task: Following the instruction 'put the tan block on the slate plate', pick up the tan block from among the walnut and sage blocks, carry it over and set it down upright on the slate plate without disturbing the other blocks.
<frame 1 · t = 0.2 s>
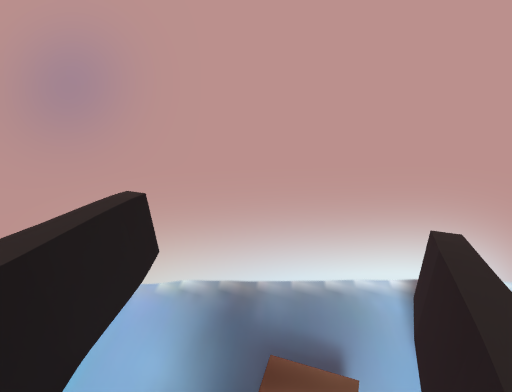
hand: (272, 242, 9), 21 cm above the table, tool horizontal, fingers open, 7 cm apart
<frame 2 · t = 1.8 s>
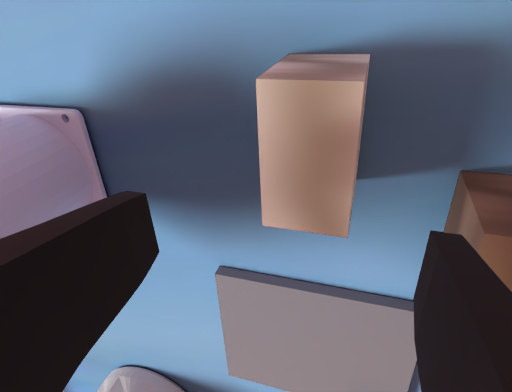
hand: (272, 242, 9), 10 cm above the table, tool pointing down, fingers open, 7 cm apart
tan block: (324, 120, 17), on the table
walnut block: (484, 228, 17), on the table
slate plate: (312, 341, 25), on the table
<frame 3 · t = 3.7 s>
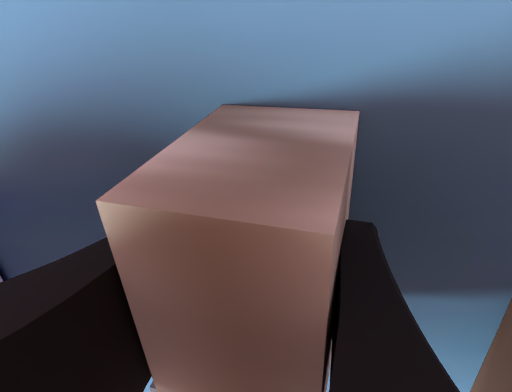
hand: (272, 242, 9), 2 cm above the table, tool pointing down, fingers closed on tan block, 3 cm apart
tan block: (287, 208, 10), on the table, touching gripper
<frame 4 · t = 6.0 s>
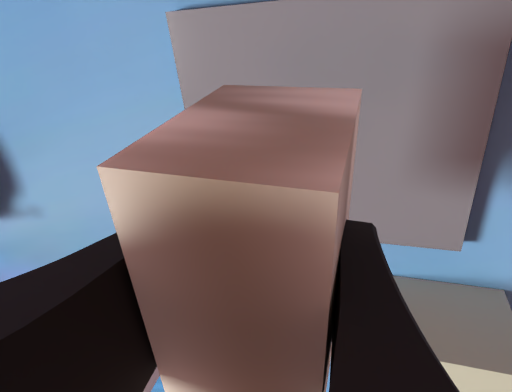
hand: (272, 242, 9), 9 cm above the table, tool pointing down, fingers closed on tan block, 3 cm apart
tan block: (288, 191, 10), point 7 cm above the table, touching gripper
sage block: (432, 304, 20), on the table
slate plate: (322, 131, 16), on the table
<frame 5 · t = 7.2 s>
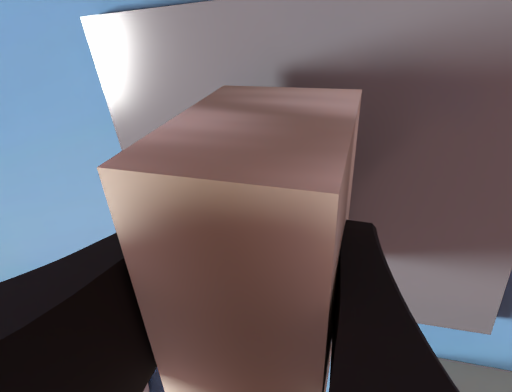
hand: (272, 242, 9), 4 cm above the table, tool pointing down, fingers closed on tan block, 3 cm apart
tan block: (288, 191, 10), point 2 cm above the table, touching gripper
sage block: (449, 385, 15), on the table
slate plate: (301, 173, 12), on the table
when the fingers open (3 cm above the table, at t = 8.1 s): tan block stays where it is, resting on slate plate.
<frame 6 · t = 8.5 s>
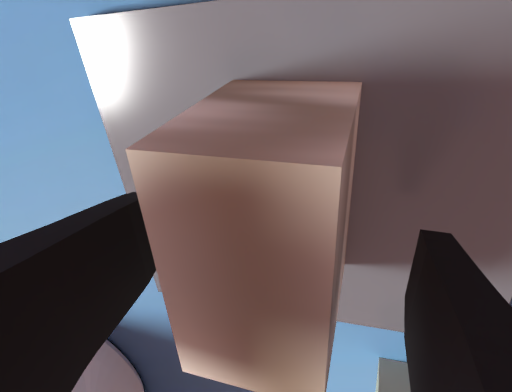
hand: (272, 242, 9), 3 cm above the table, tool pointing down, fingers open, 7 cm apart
tan block: (293, 180, 11), point 1 cm above the table, touching slate plate
mug: (85, 371, 25), on the table
slate plate: (299, 180, 12), on the table
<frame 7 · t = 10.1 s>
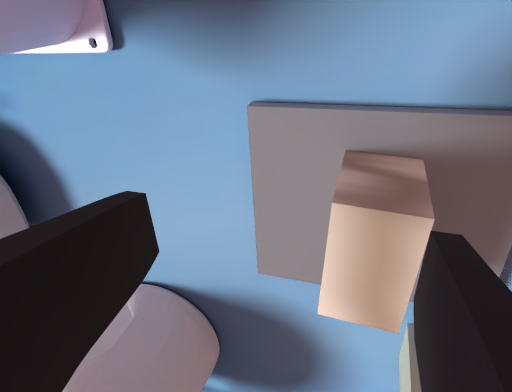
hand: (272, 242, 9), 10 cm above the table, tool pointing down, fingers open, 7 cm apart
tan block: (372, 208, 18), point 1 cm above the table, touching slate plate
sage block: (453, 351, 22), on the table
mug: (167, 334, 32), on the table
slate plate: (372, 207, 19), on the table
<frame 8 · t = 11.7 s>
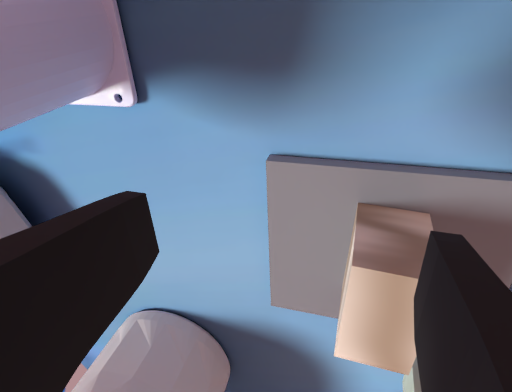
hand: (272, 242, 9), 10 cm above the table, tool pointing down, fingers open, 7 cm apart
tan block: (381, 253, 20), point 1 cm above the table, touching slate plate
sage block: (453, 376, 24), on the table
mug: (178, 356, 33), on the table
slate plate: (380, 250, 21), on the table
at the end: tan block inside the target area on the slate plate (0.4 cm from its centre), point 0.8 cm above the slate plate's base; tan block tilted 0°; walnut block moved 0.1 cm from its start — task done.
